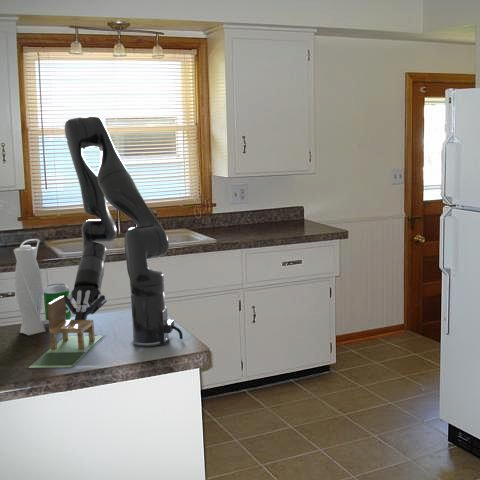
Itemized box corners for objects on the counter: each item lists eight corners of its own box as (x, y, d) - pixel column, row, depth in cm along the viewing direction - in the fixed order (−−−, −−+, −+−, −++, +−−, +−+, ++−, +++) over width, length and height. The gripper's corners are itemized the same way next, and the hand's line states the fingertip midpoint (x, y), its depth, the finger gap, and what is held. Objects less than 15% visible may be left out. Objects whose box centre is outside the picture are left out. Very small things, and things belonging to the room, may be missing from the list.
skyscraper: (39, 326, 224) (32, 237, 219) (52, 331, 219) (45, 239, 214) (14, 332, 218) (6, 240, 213) (27, 337, 213) (19, 243, 209)
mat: (103, 336, 213) (103, 335, 213) (71, 367, 186) (71, 366, 186) (65, 336, 213) (65, 336, 213) (28, 368, 186) (28, 367, 186)
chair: (94, 340, 209) (91, 295, 207) (82, 349, 200) (79, 303, 198) (64, 339, 209) (60, 295, 207) (50, 349, 201) (47, 303, 198)
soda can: (63, 326, 224) (60, 288, 222) (41, 325, 225) (38, 287, 224) (76, 319, 231) (73, 283, 229) (54, 318, 233) (51, 282, 231)
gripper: (64, 268, 216) (52, 319, 206) (108, 267, 216) (98, 318, 206) (71, 281, 222) (60, 332, 212) (114, 281, 222) (105, 331, 212)
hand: (79, 325), depth 209 cm, fingers closed
